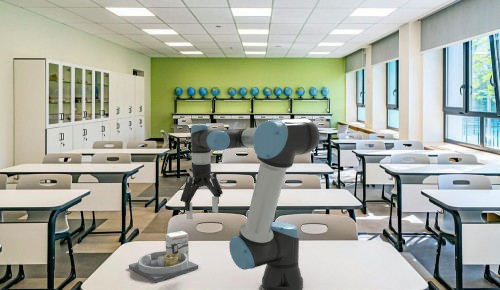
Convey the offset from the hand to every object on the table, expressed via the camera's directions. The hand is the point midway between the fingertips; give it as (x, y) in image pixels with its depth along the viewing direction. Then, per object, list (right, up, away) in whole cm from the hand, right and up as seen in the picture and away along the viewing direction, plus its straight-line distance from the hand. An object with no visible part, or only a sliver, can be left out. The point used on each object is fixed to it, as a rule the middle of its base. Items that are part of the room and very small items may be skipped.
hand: (202, 215), depth 186 cm
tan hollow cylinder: (-12, -21, -3) cm, 24 cm away
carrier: (-16, -22, +1) cm, 27 cm away
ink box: (-12, -21, +9) cm, 25 cm away
